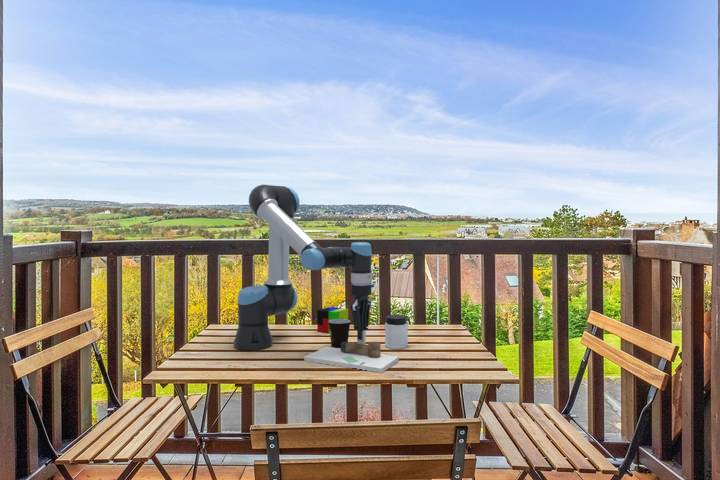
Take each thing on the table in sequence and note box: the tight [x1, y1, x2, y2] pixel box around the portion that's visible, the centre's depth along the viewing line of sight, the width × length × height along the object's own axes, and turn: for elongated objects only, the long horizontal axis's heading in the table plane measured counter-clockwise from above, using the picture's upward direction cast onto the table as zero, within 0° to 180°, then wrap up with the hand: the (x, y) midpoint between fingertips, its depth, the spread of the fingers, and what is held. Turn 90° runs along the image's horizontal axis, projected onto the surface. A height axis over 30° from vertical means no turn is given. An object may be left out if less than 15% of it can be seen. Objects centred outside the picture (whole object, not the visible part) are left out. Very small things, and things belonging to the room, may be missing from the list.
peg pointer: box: [340, 341, 381, 357], centre depth 164 cm, size 15×4×4 cm, turn 63°
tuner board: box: [303, 346, 400, 374], centre depth 161 cm, size 30×15×2 cm, turn 63°
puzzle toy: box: [316, 306, 349, 335], centre depth 207 cm, size 10×10×10 cm
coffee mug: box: [329, 319, 351, 349], centre depth 182 cm, size 12×9×10 cm
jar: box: [384, 314, 409, 350], centre depth 180 cm, size 9×8×12 cm
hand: (361, 347), depth 168 cm, fingers closed
